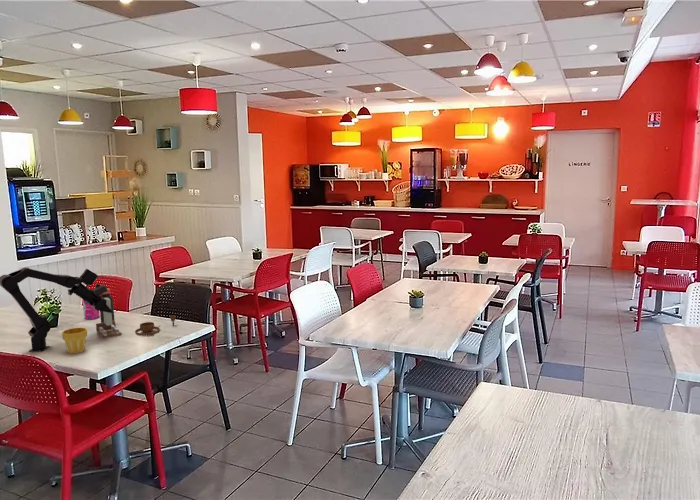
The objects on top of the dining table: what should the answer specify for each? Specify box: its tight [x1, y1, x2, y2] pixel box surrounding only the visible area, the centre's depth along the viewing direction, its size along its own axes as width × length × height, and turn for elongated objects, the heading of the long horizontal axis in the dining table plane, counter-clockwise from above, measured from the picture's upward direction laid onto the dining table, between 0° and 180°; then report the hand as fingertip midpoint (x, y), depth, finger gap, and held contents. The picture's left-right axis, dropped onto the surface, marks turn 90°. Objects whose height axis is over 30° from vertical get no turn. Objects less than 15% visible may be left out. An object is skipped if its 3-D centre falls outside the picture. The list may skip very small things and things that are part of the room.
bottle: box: [99, 287, 116, 323], centre depth 280 cm, size 7×7×20 cm
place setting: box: [134, 315, 176, 338], centre depth 270 cm, size 18×20×6 cm
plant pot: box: [61, 326, 88, 354], centre depth 241 cm, size 10×10×10 cm
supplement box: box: [82, 299, 100, 321], centre depth 295 cm, size 6×6×12 cm
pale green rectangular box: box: [103, 298, 112, 326], centre depth 264 cm, size 6×2×13 cm, turn 38°
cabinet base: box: [95, 320, 123, 340], centre depth 266 cm, size 12×9×5 cm
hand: (110, 310), depth 265 cm, fingers closed on pale green rectangular box, 6 cm apart
